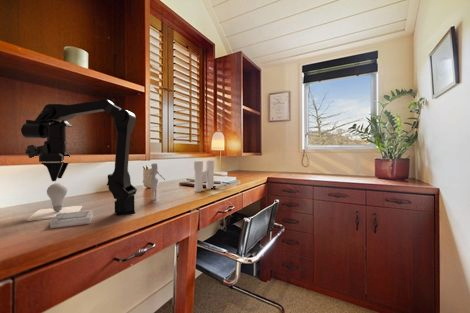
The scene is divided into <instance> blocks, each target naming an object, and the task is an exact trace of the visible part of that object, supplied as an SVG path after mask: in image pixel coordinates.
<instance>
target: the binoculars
mask: <svg viewBox="0 0 470 313" xmlns="http://www.w3.org/2000/svg"><path fill="white" fill-rule="evenodd" d="M205 169H206V170H204V161H203V160H194V161H193V170H194V192H196V193H201V191H202V192H203V187H204V186H203V183H206V184H205V186H206V187H205V188H206V189H207V190H212V189H211V188H213V185H214V186H215V183H214V179H215V178H214V175H215V171H214V169H215V160H214V159H213V160H211V159H206V160H205ZM213 189H214V188H213Z"/></svg>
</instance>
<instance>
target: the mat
mask: <svg viewBox="0 0 470 313" xmlns="http://www.w3.org/2000/svg"><path fill="white" fill-rule="evenodd" d="M82 208H83V205H75V206H73V205H72V206H65V207H63V206H62V210H60V211H59V212H56V211H54V210H53V207H52V208H41V209H38V210H37V211H35V213H33V214H32V215H31V216H29V217H28V218H26V222H30V221H31V222H32V221H41V220H52V219H53V218H54V217H55V216H56V215H57V214H58V213H67V212H77V211H82V210H81V209H82Z"/></svg>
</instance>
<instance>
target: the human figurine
mask: <svg viewBox="0 0 470 313" xmlns="http://www.w3.org/2000/svg"><path fill="white" fill-rule="evenodd" d="M157 175H159V177H161V178H162V179H163V181H165V180H166V179H165V177H163V175H161V174H160V172H159V171H158V164H157V163H151V170H150V172H149V173H148V175H147V176H146V177H145V178H144V179H143V180H142V184H144V183H145V181H146V180H147V179H148V178H149V177H150V176H151V178H150V181H149V185H150V189H151V192H150V193H151V199H150V201H157V187H158V185H159V184H158V182H159V178H157V177H156V176H157Z"/></svg>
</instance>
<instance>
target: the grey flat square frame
mask: <svg viewBox="0 0 470 313" xmlns="http://www.w3.org/2000/svg"><path fill="white" fill-rule="evenodd" d="M93 216H94V209H90V210H89V209H88V210H80V211H77V212H67V213H58V214H57V215H56V216H55V217H54V218H52V219H51V220H50V222H49V229H57V228H65V227H73V226H80V225H88V224H89V225H90V224H91V222H92V220H93Z"/></svg>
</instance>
